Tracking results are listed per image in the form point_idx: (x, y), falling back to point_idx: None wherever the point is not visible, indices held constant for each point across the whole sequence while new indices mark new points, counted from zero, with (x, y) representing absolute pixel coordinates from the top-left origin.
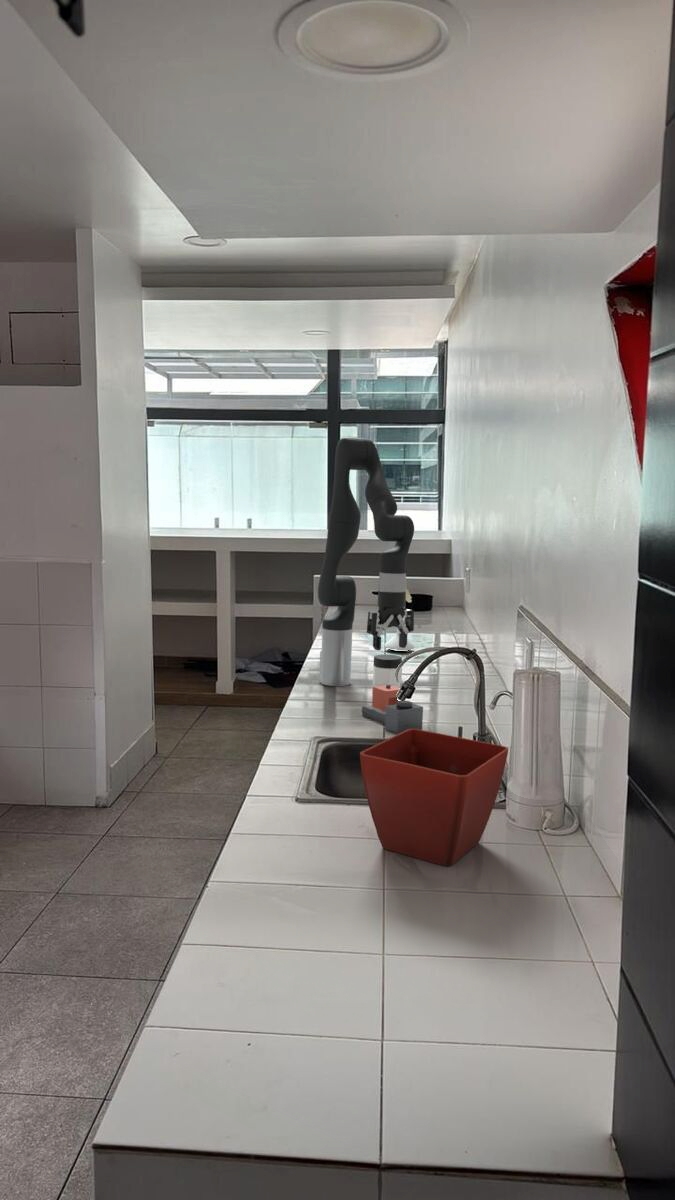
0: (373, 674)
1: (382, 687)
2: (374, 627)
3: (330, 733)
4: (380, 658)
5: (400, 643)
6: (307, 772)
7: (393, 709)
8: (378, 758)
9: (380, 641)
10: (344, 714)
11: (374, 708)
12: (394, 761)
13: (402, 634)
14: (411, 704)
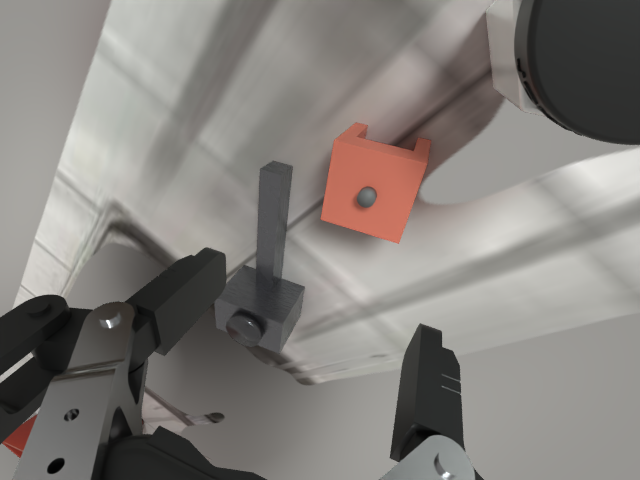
0: None
1: (356, 174)
2: (24, 400)
3: (143, 208)
4: (549, 16)
5: (413, 353)
6: (71, 285)
7: (216, 316)
8: (10, 449)
9: (184, 326)
10: (238, 120)
11: (271, 209)
12: (19, 457)
13: (397, 444)
14: (249, 345)
